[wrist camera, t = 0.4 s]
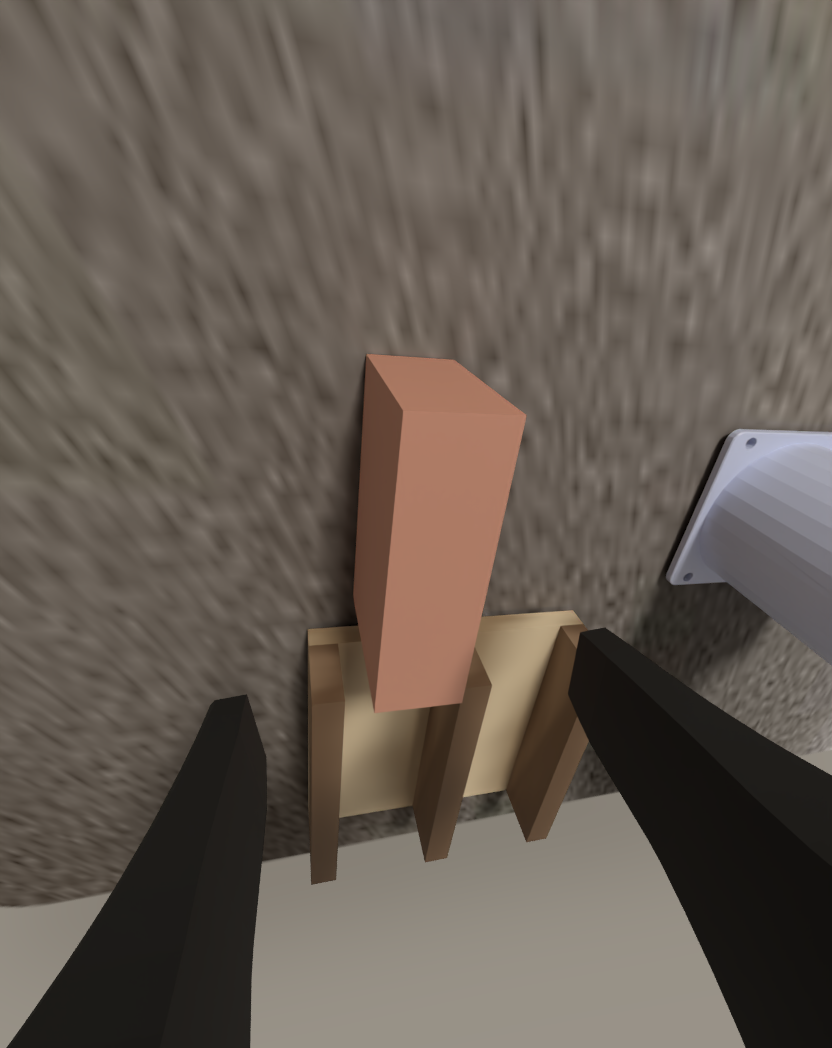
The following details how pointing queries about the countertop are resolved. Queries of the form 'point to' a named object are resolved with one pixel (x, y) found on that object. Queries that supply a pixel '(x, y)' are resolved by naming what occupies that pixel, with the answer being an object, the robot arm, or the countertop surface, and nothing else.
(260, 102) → the countertop surface
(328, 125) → the countertop surface
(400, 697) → the book
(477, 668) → the book rack
